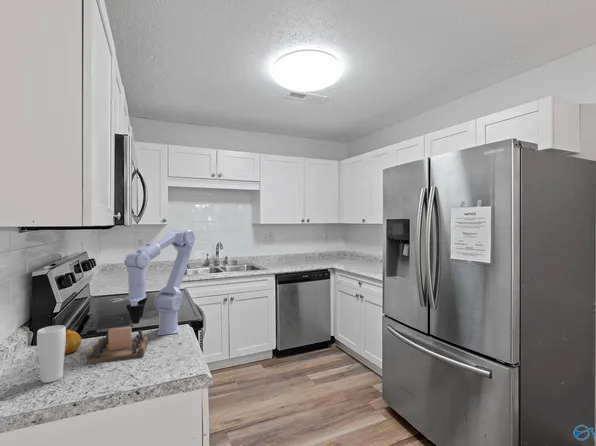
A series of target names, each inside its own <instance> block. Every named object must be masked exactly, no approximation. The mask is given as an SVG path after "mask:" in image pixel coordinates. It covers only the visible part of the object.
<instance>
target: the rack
mask: <svg viewBox="0 0 596 446" xmlns="http://www.w3.org/2000/svg"><path fill="white" fill-rule="evenodd" d="M137 332H138V333H137V334H135V335H136V338H132V346H131V348H124V349H115V350H109V347H108V333H105V337H102V338H99V339H98V340H97V341H96V342H95V344H94V345H93V346H92V348H91V349H90V351H89V352H88V353H87V354H86V357H85V358H86V360H85V364H86V365H91V364H98V363H99V364H100V363H105V362H106V363H107V362H115V361H121V360H129V359H137V358H144V356H145V353H146V351H147V347H148V345H149V342H150V333H148V332H147V333H145V335H144V337H143V330H142V329H140V330H138V331H137Z"/></svg>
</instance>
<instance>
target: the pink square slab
mask: <svg viewBox="0 0 596 446" xmlns="http://www.w3.org/2000/svg"><path fill="white" fill-rule="evenodd" d="M107 334H108V347H109V350H115V349H124V348H131V346H132V339H133V338H132V326H125V327H115V328H109V329H108V332H107Z"/></svg>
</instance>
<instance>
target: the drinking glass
mask: <svg viewBox="0 0 596 446" xmlns="http://www.w3.org/2000/svg"><path fill="white" fill-rule="evenodd" d="M66 330H67V329H66V325H63V324H62V325H60V324H58V325H51V326H50V325H49V326H46V327H42V328H39V329H38V330H37V332H36V347H37V355H38V363H39V372H40V373H39V374H40V381H41V382H42V383H45V384H47V383H53V382H56V381H59V380H60V379H62V378H63V376H64V365H65V363H64V362H65V344H66Z"/></svg>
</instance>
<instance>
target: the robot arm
mask: <svg viewBox="0 0 596 446" xmlns="http://www.w3.org/2000/svg"><path fill="white" fill-rule="evenodd" d="M195 240H196V237H195V234H194V231H193V230H191V229H171V231H168V232H167V234H166V235H165V236H163V237H161V239H159V240H158V241H157V242H147V243H146V245H144V246H143V247H142V248H138V249H137V251H135V252H130V253H128V254H127V255H126V257H125V260H124V262H123V263H124V265H125V266H126V270H127V272H128V273H127V274H128V277H127V278H128V296H125V297H124V300H128V301H130V303H129V304H126V305H125V307H126V309H127V312H128V314H129V317H130V320H131V323H132V325H138V324H139V323H140V322H141V321H140V320H141V318H143V315H144V309H145V305H146V302H147V301H148V297H147V295H146V293H147V292H146V291H147V290H146V288H147V287H146V286H147V285H146V268H147V267H148V266H149V263H150V262H151V260H154V259H155V258H156V257H158V256H159V255H160V254H161V250H163V249H165V248H167V247H168V246H170V245H172V246H173V248H174V249H175V251H177V254H176V257H175V260H174V263H173V266H172V269H171V271H170V275H169V276H168V279H167V282H166V285H165V287H162V288H161V289H160V290H159V292H158V293H157V295H156V297H155V298H154V307H155V308H156V309H157V312H158V331H157V336H163V335H164V336H165V335H174V334H175V335H176V334H178V333H179V328H180V325H179V324H178V321H179V320H178V311H180V310H179V309H180V308H181V306H182V301H183V300H182V299H183V293H182V292H181V290H180V289H181V284H182V281H183V279H184V275H185V273H186V270H187V266H188V264H189V261H190V258H191V255H192V252H193V251H192V250H193V247H194V244H195Z"/></svg>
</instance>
